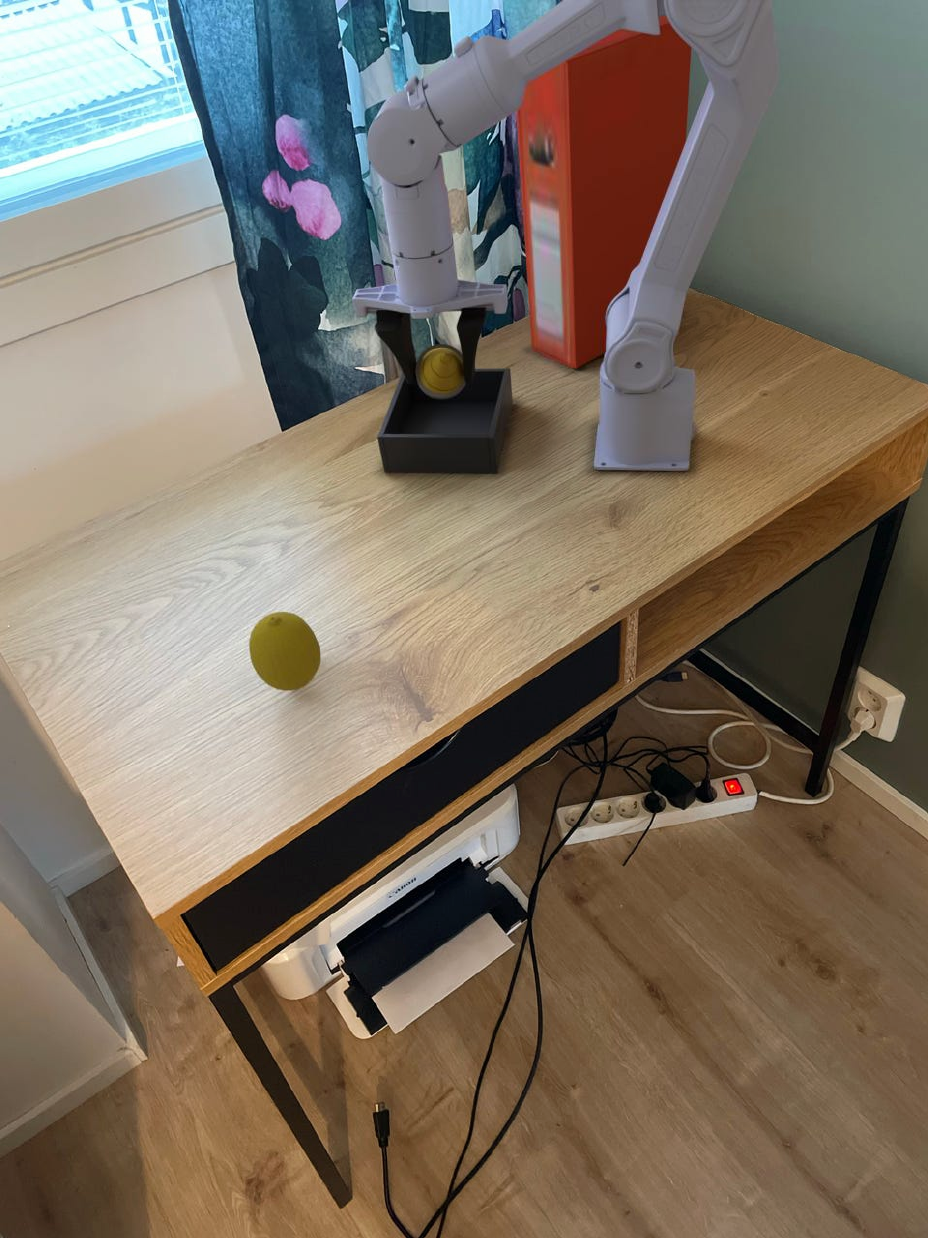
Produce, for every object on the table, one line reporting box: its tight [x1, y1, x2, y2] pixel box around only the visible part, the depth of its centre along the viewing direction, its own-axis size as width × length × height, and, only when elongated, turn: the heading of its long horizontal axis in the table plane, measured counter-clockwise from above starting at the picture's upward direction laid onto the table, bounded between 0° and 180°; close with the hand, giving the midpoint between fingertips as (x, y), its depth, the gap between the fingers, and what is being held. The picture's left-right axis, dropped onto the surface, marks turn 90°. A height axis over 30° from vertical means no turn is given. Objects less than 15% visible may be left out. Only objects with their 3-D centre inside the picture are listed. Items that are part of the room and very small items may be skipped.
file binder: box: [515, 16, 692, 370], centre depth 100 cm, size 8×17×32 cm, turn 129°
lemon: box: [248, 611, 321, 692], centre depth 73 cm, size 6×6×8 cm
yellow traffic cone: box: [415, 343, 466, 399], centre depth 89 cm, size 5×5×10 cm
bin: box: [376, 367, 514, 475], centre depth 97 cm, size 12×13×4 cm
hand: (440, 378), depth 91 cm, fingers closed on yellow traffic cone, 5 cm apart
